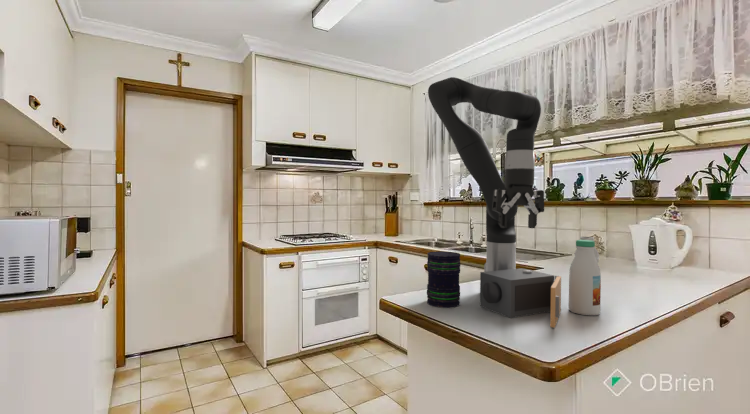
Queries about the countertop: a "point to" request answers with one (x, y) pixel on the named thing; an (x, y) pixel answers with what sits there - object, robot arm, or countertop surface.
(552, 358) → the countertop surface
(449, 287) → the storage jar
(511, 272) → the camera body
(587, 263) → the milk bottle
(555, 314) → the side door
